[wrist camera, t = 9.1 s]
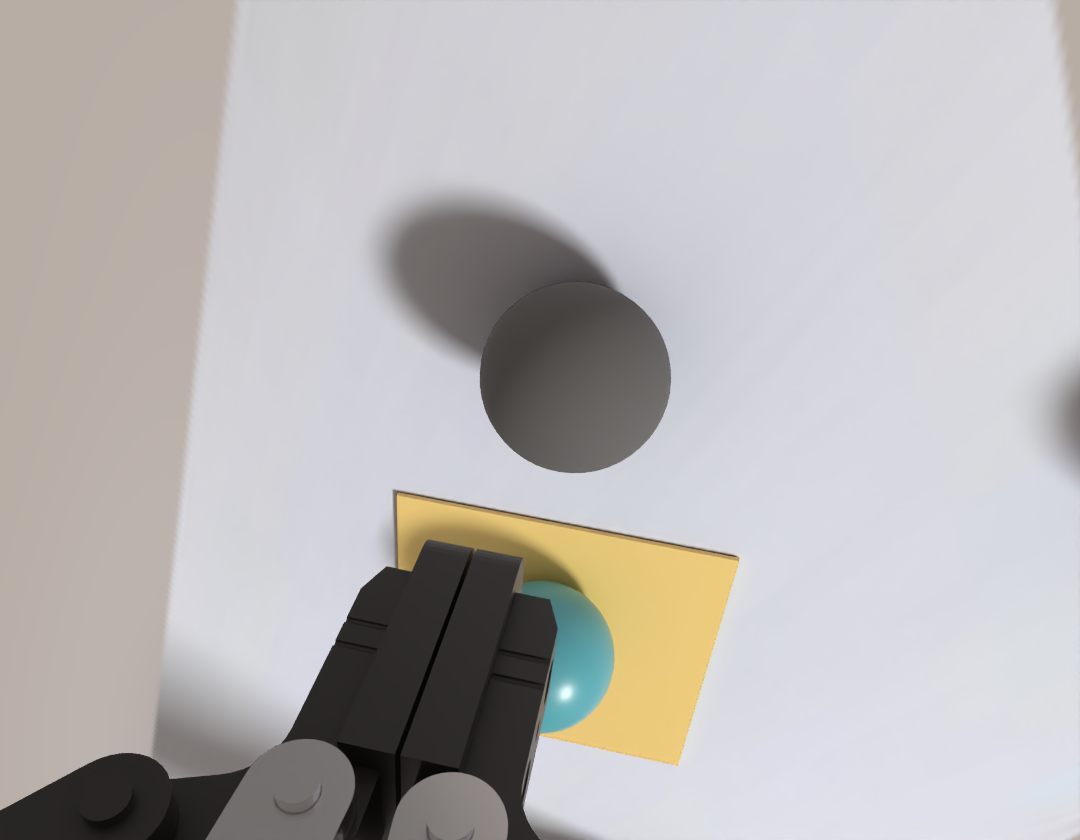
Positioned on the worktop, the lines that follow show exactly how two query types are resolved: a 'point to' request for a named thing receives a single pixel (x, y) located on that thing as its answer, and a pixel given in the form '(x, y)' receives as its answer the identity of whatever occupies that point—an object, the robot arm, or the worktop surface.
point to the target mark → (607, 611)
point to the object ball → (575, 656)
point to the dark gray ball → (575, 377)
